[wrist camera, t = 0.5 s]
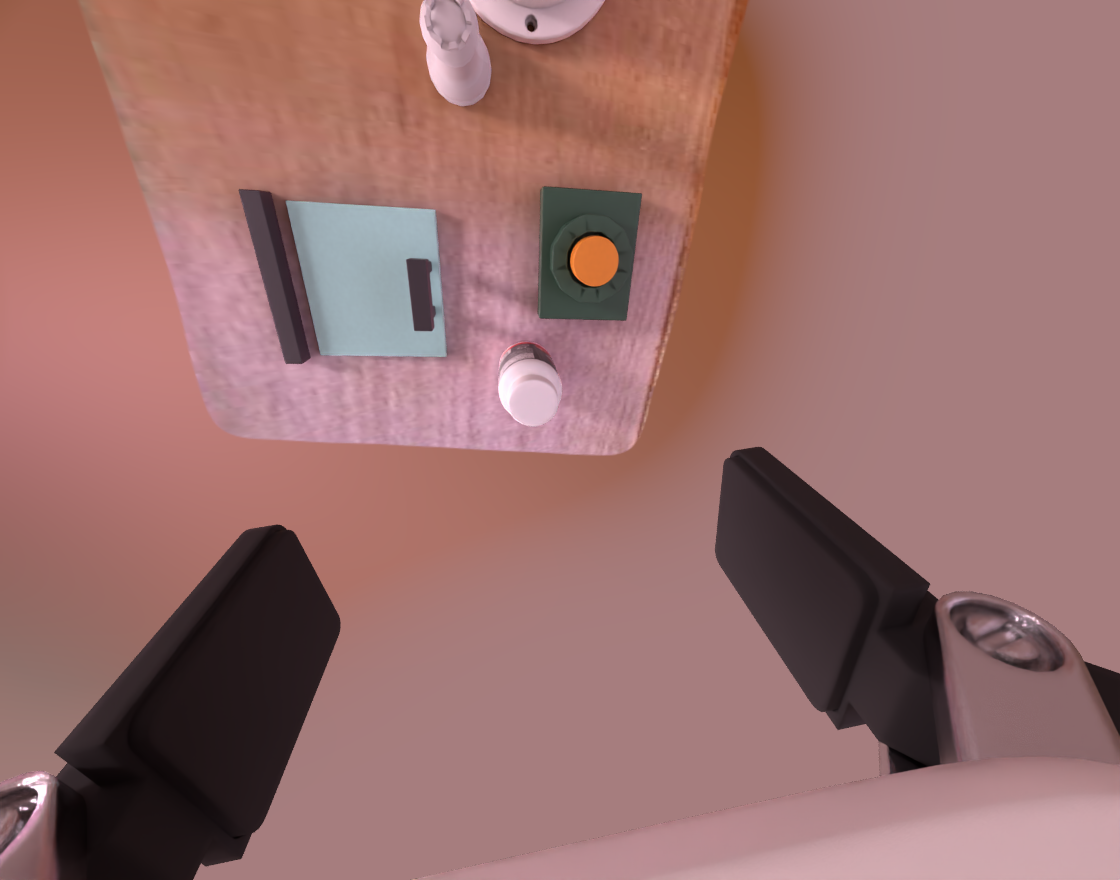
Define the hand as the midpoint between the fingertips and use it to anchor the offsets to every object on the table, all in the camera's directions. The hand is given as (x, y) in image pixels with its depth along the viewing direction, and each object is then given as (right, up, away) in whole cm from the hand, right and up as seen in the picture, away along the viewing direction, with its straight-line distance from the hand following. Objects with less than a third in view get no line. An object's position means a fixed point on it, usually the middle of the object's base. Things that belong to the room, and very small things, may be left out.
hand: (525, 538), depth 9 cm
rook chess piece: (-6, +29, +20) cm, 36 cm away
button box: (+3, +19, +27) cm, 33 cm away
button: (+3, +17, +24) cm, 29 cm away
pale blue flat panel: (-15, +16, +26) cm, 34 cm away
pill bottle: (-3, +10, +31) cm, 33 cm away
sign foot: (-22, +15, +25) cm, 37 cm away
